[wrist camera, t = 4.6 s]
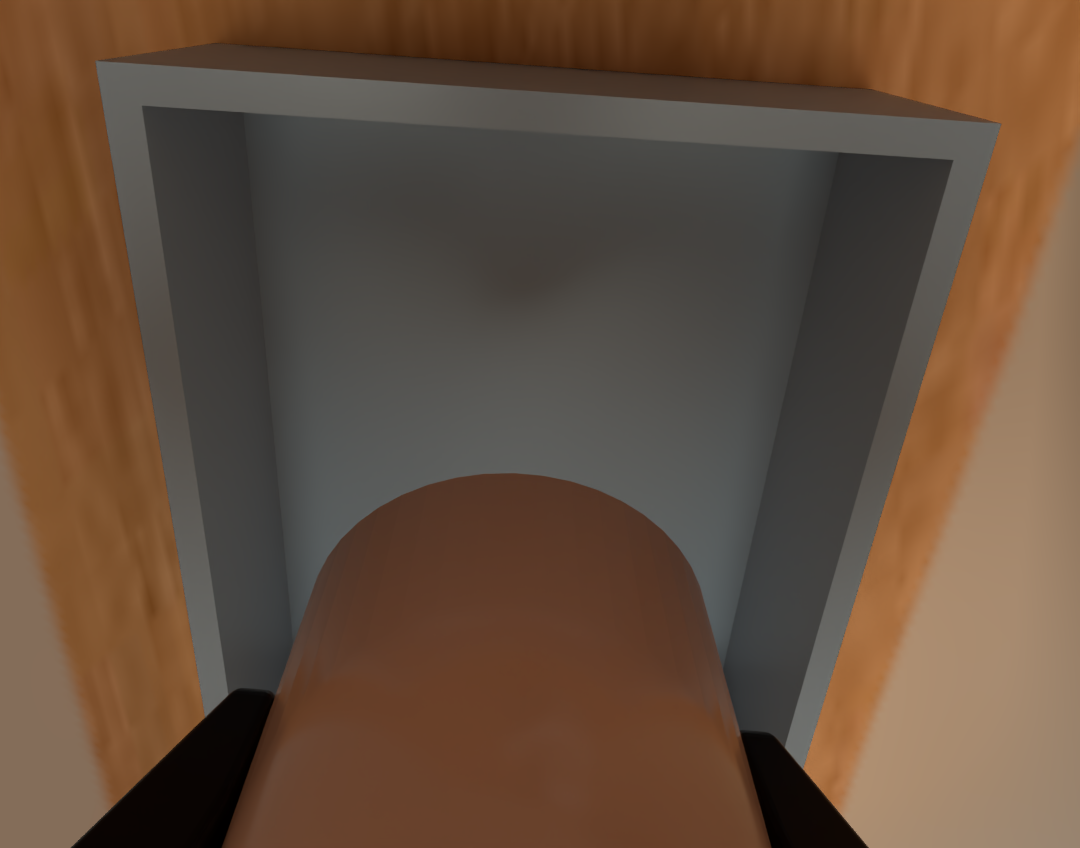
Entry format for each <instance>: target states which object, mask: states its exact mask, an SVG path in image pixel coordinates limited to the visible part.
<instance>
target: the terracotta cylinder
mask: <svg viewBox="0 0 1080 848" xmlns="http://www.w3.org/2000/svg"><path fill="white" fill-rule="evenodd" d="M222 848H771V844H770V840H769V837H768V833H767V829H766V826H765V822H764V818H763V815H762V811H761V807H760V804H759V800H758V797H757V793H756V789H755V786H754V782H753V778H752V775H751V771H750V767H749V764H748V760H747V756H746V753H745V749H744V745H743V742H742V738H741V734H740V731H739V727H738V723H737V720H736V716H735V712H734V709H733V705H732V701H731V698H730V694H729V690H728V687H727V683H726V679H725V676H724V672H723V668H722V665H721V661H720V657H719V654H718V650H717V646H716V643H715V639H714V635H713V632H712V628H711V624H710V621H709V617H708V613H707V610H706V606H705V602H704V599H703V595H702V591H701V588H700V585H699V583H698V581H697V578H696V576H695V574H694V572H693V569H692V567H691V565H690V564H689V562H688V561H687V559H686V558H685V556H684V555H683V553H682V552H681V550H680V549H679V548H678V546H677V545H676V544H675V543H674V542H673V541H672V540H671V539H670V538H669V536H668V535H667V534H666V533H665V532H664V531H663V530H662V529H661V528H659V527H658V526H657V525H656V524H655V523H653V522H652V521H651V520H650V519H648V518H647V517H646V516H645V515H643V514H642V513H640V512H639V511H637V510H635V509H634V508H632V507H631V506H629V505H627V504H626V503H624V502H623V501H621V500H618V499H616V498H614V497H612V496H610V495H608V494H605V493H603V492H601V491H599V490H596V489H593V488H590V487H587V486H584V485H581V484H578V483H575V482H572V481H567V480H562V479H557V478H552V477H547V476H541V475H530V474H518V473H496V474H479V475H472V476H464V477H457V478H452V479H449V480H445V481H441V482H437V483H433V484H429V485H426V486H423V487H421V488H418V489H416V490H413V491H410V492H408V493H405V494H403V495H401V496H399V497H397V498H395V499H393V500H391V501H390V502H388V503H386V504H384V505H382V506H380V507H379V508H377V509H376V510H374V511H373V512H372V513H370V514H369V515H368V516H366V517H365V518H363V519H362V520H361V521H359V522H358V523H357V524H356V525H355V526H354V527H353V528H352V529H351V530H350V531H349V532H348V533H347V534H346V535H345V536H344V537H343V538H342V539H341V540H340V541H339V542H338V544H337V545H336V546H335V548H334V549H333V550H332V552H331V553H330V554H329V556H328V557H327V559H326V561H325V563H324V565H323V566H322V568H321V570H320V572H319V574H318V576H317V579H316V582H315V584H314V587H313V590H312V593H311V596H310V599H309V601H308V604H307V607H306V610H305V613H304V616H303V618H302V621H301V624H300V627H299V630H298V633H297V636H296V638H295V641H294V644H293V647H292V650H291V653H290V655H289V658H288V661H287V664H286V667H285V670H284V672H283V675H282V678H281V681H280V684H279V687H278V689H277V692H276V695H275V698H274V701H273V704H272V706H271V709H270V712H269V715H268V718H267V721H266V723H265V726H264V729H263V732H262V735H261V738H260V740H259V743H258V746H257V749H256V752H255V755H254V757H253V760H252V763H251V766H250V769H249V772H248V774H247V777H246V780H245V783H244V786H243V789H242V791H241V794H240V797H239V800H238V803H237V806H236V808H235V811H234V814H233V817H232V820H231V823H230V825H229V828H228V831H227V834H226V837H225V840H224V842H223V845H222Z"/></svg>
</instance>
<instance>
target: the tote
mask: <svg viewBox="0 0 1080 848" xmlns="http://www.w3.org/2000/svg"><path fill="white" fill-rule="evenodd" d="M95 62H96V68H97V74H98V80H99V86H100V92H101V98H102V104H103V110H104V116H105V122H106V128H107V134H108V140H109V145H110V151H111V157H112V163H113V169H114V175H115V181H116V187H117V193H118V199H119V205H120V211H121V217H122V223H123V229H124V235H125V241H126V247H127V253H128V259H129V265H130V271H131V277H132V283H133V289H134V295H135V301H136V307H137V313H138V319H139V325H140V331H141V337H142V343H143V348H144V354H145V360H146V366H147V372H148V378H149V384H150V390H151V396H152V402H153V408H154V414H155V420H156V426H157V432H158V438H159V444H160V450H161V456H162V462H163V468H164V474H165V480H166V486H167V492H168V498H169V504H170V510H171V516H172V522H173V528H174V534H175V540H176V546H177V551H178V557H179V563H180V569H181V575H182V581H183V587H184V593H185V599H186V605H187V611H188V617H189V623H190V629H191V635H192V641H193V647H194V653H195V659H196V665H197V671H198V677H199V683H200V689H201V695H202V701H203V707H204V713H205V717H206V716H207V715H208V714H209V713H210V712H211V711H212V710H213V709H214V708H215V707H216V706H217V705H219V704H220V703H221V702H222V701H223V700H224V699H225V698H226V697H227V696H228V695H229V694H230V693H231V692H232V691H234V690H236V689H238V688H251V689H263V690H270V691H272V692H273V693H274V694H275V695H276V692H277V689H278V687H279V684H280V681H281V678H282V675H283V672H284V670H285V667H286V664H287V661H288V658H289V655H290V653H291V650H292V647H293V644H294V641H295V638H296V636H297V633H298V630H299V627H300V624H301V621H302V618H303V616H304V613H305V610H306V607H307V604H308V601H309V599H310V596H311V593H312V590H313V587H314V584H315V582H316V579H317V576H318V574H319V572H320V570H321V568H322V566H323V565H324V563H325V561H326V559H327V557H328V556H329V554H330V553H331V552H332V550H333V549H334V548H335V546H336V545H337V544H338V542H339V541H340V540H341V539H342V538H343V537H344V536H345V535H346V534H347V533H348V532H349V531H350V530H351V529H352V528H353V527H354V526H355V525H356V524H357V523H358V522H359V521H361V520H362V519H363V518H365V517H366V516H368V515H369V514H370V513H372V512H373V511H374V510H376V509H377V508H379V507H380V506H382V505H384V504H386V503H388V502H390V501H391V500H393V499H395V498H397V497H399V496H401V495H403V494H405V493H408V492H410V491H413V490H416V489H418V488H421V487H423V486H426V485H429V484H433V483H437V482H441V481H445V480H449V479H452V478H457V477H464V476H472V475H479V474H496V473H518V474H530V475H541V476H547V477H552V478H557V479H562V480H567V481H572V482H575V483H578V484H581V485H584V486H587V487H590V488H593V489H596V490H599V491H601V492H603V493H605V494H608V495H610V496H612V497H614V498H616V499H618V500H621V501H623V502H624V503H626V504H627V505H629V506H631V507H632V508H634V509H635V510H637V511H639V512H640V513H642V514H643V515H645V516H646V517H647V518H648V519H650V520H651V521H652V522H653V523H655V524H656V525H657V526H658V527H659V528H661V529H662V530H663V531H664V532H665V533H666V534H667V535H668V536H669V538H670V539H671V540H672V541H673V542H674V543H675V544H676V545H677V546H678V548H679V549H680V550H681V552H682V553H683V555H684V556H685V558H686V559H687V561H688V562H689V564H690V565H691V567H692V569H693V572H694V574H695V576H696V578H697V581H698V583H699V585H700V588H701V591H702V595H703V599H704V602H705V606H706V610H707V613H708V617H709V621H710V624H711V628H712V632H713V635H714V639H715V643H716V646H717V650H718V654H719V657H720V661H721V665H722V668H723V672H724V676H725V679H726V683H727V687H728V690H729V694H730V698H731V701H732V705H733V709H734V712H735V716H736V720H737V723H738V727H739V730H751V731H763V732H768V733H771V734H772V735H774V736H775V737H776V738H777V739H778V740H779V741H780V742H781V744H782V745H783V746H784V747H785V748H786V750H787V751H788V752H789V753H790V754H791V756H792V757H793V758H794V759H795V760H796V762H797V763H798V764H799V765H800V766H801V768H802V769H803V767H804V764H805V761H806V757H807V754H808V751H809V748H810V744H811V741H812V738H813V735H814V731H815V728H816V725H817V722H818V718H819V715H820V712H821V709H822V705H823V702H824V699H825V696H826V692H827V689H828V686H829V683H830V679H831V676H832V673H833V670H834V666H835V663H836V660H837V657H838V653H839V650H840V647H841V644H842V640H843V637H844V634H845V631H846V627H847V624H848V621H849V617H850V614H851V611H852V608H853V604H854V601H855V598H856V595H857V591H858V588H859V585H860V582H861V578H862V575H863V572H864V569H865V565H866V562H867V559H868V556H869V552H870V549H871V546H872V543H873V539H874V536H875V533H876V530H877V526H878V523H879V520H880V517H881V513H882V510H883V507H884V504H885V500H886V497H887V494H888V491H889V487H890V484H891V481H892V478H893V474H894V471H895V468H896V465H897V461H898V458H899V455H900V452H901V448H902V445H903V442H904V439H905V435H906V432H907V429H908V426H909V422H910V419H911V416H912V413H913V409H914V406H915V403H916V400H917V396H918V393H919V390H920V387H921V383H922V380H923V377H924V374H925V370H926V367H927V364H928V361H929V357H930V354H931V351H932V348H933V344H934V341H935V338H936V335H937V331H938V328H939V325H940V322H941V318H942V315H943V312H944V309H945V305H946V302H947V299H948V295H949V292H950V289H951V286H952V282H953V279H954V276H955V273H956V269H957V266H958V263H959V260H960V256H961V253H962V250H963V247H964V243H965V240H966V237H967V234H968V230H969V227H970V224H971V221H972V217H973V214H974V211H975V208H976V204H977V201H978V198H979V195H980V191H981V188H982V185H983V182H984V178H985V175H986V172H987V169H988V165H989V162H990V159H991V156H992V152H993V149H994V146H995V143H996V139H997V136H998V133H999V130H1000V126H1001V124H1000V123H996V122H993V121H989V120H985V119H981V118H978V117H974V116H970V115H966V114H962V113H959V112H955V111H951V110H947V109H944V108H940V107H936V106H932V105H928V104H925V103H921V102H917V101H913V100H909V99H906V98H902V97H898V96H894V95H891V94H887V93H883V92H879V91H875V90H871V89H857V88H842V87H828V86H814V85H800V84H786V83H772V82H758V81H744V80H730V79H715V78H701V77H687V76H673V75H659V74H645V73H631V72H617V71H602V70H588V69H574V68H560V67H546V66H532V65H518V64H504V63H490V62H475V61H461V60H447V59H433V58H419V57H405V56H391V55H377V54H362V53H348V52H334V51H320V50H306V49H292V48H278V47H264V46H250V45H235V44H221V43H213V44H206V45H199V46H192V47H186V48H179V49H172V50H166V51H159V52H152V53H145V54H139V55H132V56H125V57H118V58H112V59H105V60H98V61H95Z"/></svg>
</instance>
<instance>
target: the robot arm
mask: <svg viewBox="0 0 1080 848" xmlns="http://www.w3.org/2000/svg"><path fill="white" fill-rule="evenodd" d="M274 698H275V694H274V693H273V692H272V691H270V690H263V689H251V688H238V689H236V690H234V691H232V692H231V693H230V694H229V695H228V696H227V697H226V698H225V699H224V700H223V701H222V702H221V703H220V704H219V705H217V706H216V707H215V708H214V709H213V710H212V711H211V712H210V713H209V714H208V715H207V716H206V717H205V718H204V719H203V720H202V721H201V722H200V723H199V724H198V725H197V726H196V727H195V728H194V729H193V730H192V731H191V732H190V733H189V734H188V735H187V736H186V737H184V738H183V739H182V740H181V741H180V742H179V743H178V744H177V745H176V746H175V747H174V748H173V749H172V750H171V751H170V752H169V753H168V754H167V755H166V756H165V757H164V758H163V759H162V760H161V761H160V762H159V763H158V764H157V765H156V766H155V767H154V768H153V769H152V770H150V771H149V772H148V773H147V774H146V775H145V776H144V777H143V778H142V779H141V780H140V781H139V782H138V783H137V784H136V785H135V786H134V787H133V788H132V789H131V790H130V791H129V792H128V793H127V794H126V795H125V796H124V797H123V798H122V799H121V800H120V801H119V802H118V803H116V804H115V805H114V806H113V807H112V808H111V809H110V810H109V811H108V812H107V813H106V814H105V815H104V816H103V817H102V818H101V819H100V820H99V821H98V822H97V823H96V824H95V825H94V826H93V827H92V828H91V829H90V830H89V831H88V832H87V833H86V834H85V835H84V836H82V837H81V839H79V840H78V842H76V843H75V844H74V845H73V846H72V847H71V848H222V845H223V842H224V840H225V837H226V834H227V831H228V828H229V825H230V823H231V820H232V817H233V814H234V811H235V808H236V806H237V803H238V800H239V797H240V794H241V791H242V789H243V786H244V783H245V780H246V777H247V774H248V772H249V769H250V766H251V763H252V760H253V757H254V755H255V752H256V749H257V746H258V743H259V740H260V738H261V735H262V732H263V729H264V726H265V723H266V721H267V718H268V715H269V712H270V709H271V706H272V704H273V701H274ZM739 731H740V734H741V738H742V742H743V745H744V749H745V753H746V756H747V760H748V764H749V767H750V771H751V775H752V778H753V782H754V786H755V789H756V793H757V797H758V800H759V804H760V807H761V811H762V815H763V818H764V822H765V826H766V829H767V833H768V837H769V840H770V844H771V848H868V847H867V846H866V844H865V843H864V842H863V841H862V839H861V838H860V837H859V836H858V835H857V833H856V832H855V831H854V830H853V829H852V828H851V826H850V825H849V824H848V823H847V821H846V820H845V819H844V818H843V817H842V815H841V814H840V813H839V812H838V811H837V809H836V808H835V807H834V806H833V805H832V803H831V802H830V801H829V800H828V799H827V797H826V796H825V795H824V794H823V793H822V791H821V790H820V789H819V788H818V787H817V785H816V784H815V783H814V782H813V781H812V779H811V778H810V777H809V776H808V775H807V774H806V772H805V771H804V770H803V769H802V768H801V766H800V765H799V764H798V763H797V762H796V760H795V759H794V758H793V757H792V756H791V754H790V753H789V752H788V751H787V750H786V748H785V747H784V746H783V745H782V744H781V742H780V741H779V740H778V739H777V738H776V737H775V736H774V735H772V734H771V733H768V732H763V731H751V730H739Z"/></svg>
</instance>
